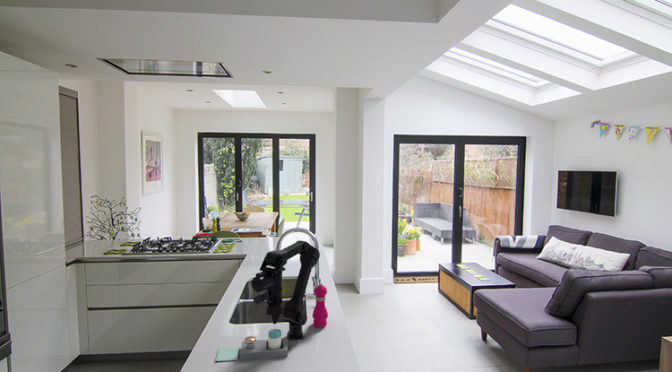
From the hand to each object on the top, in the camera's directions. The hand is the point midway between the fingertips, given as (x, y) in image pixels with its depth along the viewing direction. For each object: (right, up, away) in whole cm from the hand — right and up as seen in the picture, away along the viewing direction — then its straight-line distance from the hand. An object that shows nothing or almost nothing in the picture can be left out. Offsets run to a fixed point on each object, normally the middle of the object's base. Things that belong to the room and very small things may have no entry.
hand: (274, 322), depth 140 cm
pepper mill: (+17, -11, +24) cm, 31 cm away
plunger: (-10, -12, -1) cm, 15 cm away
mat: (-18, -12, -2) cm, 22 cm away
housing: (-4, -12, 0) cm, 13 cm away
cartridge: (0, -12, +1) cm, 12 cm away
